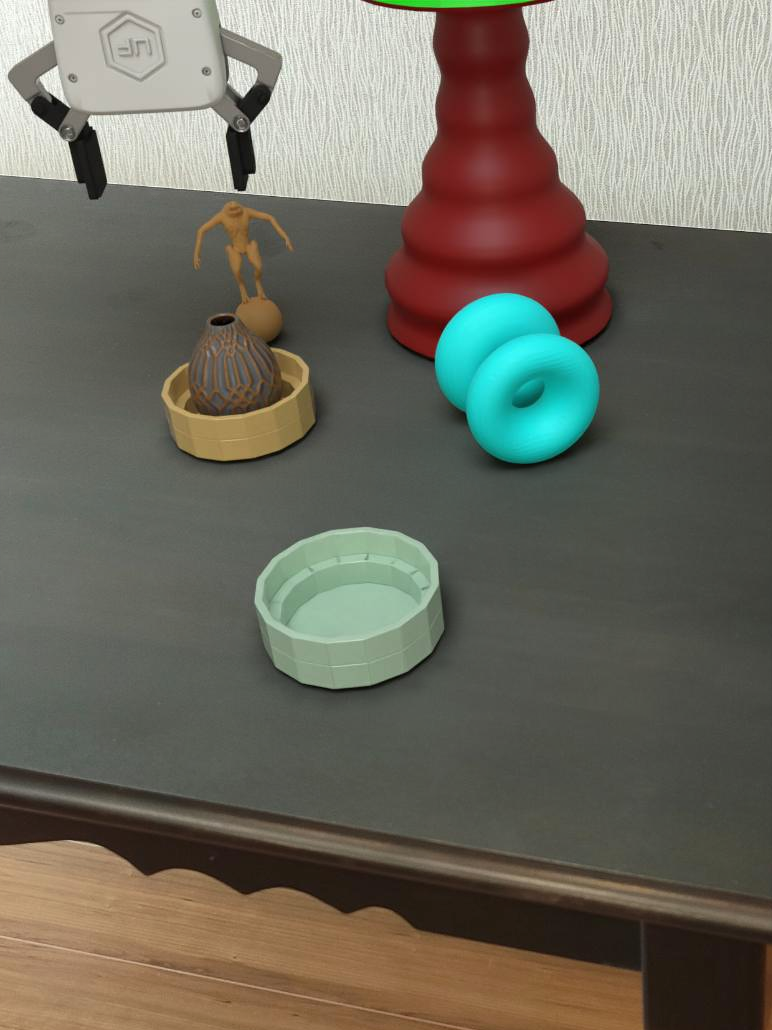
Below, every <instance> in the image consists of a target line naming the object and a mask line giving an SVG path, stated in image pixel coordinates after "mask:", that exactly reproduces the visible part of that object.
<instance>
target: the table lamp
mask: <svg viewBox="0 0 772 1030" xmlns="http://www.w3.org/2000/svg"><path fill="white" fill-rule="evenodd" d="M360 1H362V2H364V3H367V4H370V5H373V6H377V7H381V8H387V9H392V10H400V11H410V12H419V13H423V12H424V13H434V14H435V21H434V27H433V34H432V50H433V55H434V59H435V60H436V63H437V66H438V69H439V73H440V80H439V86H438V89H437V94H436V97H435V103H434V112H435V120H436V121H435V122H436V128H437V129H436V134H435V137H434V140H433V142H432V143H431V145H430V146H429V148H428V150H427V152H426V153H425V156H424V157H423V160H422V163H421V182H422V184H421V188H420V190H419V192H418V193H417V194H416V195H415V196H414V198H412V200H411V201H410V203H409V204H408V205H407V207H406V209H405V211H404V213H403V215H402V217H401V219H400V222H401V223H400V234H401V237H402V238H401V239H402V242H403V243H402V244H401V245H400V246H399V247H398V248H397V250H395V252H394V253H393V254H392V255H391V257H390V258H389V261H388V263H387V265H386V267H385V269H384V276H383V277H384V280H383V281H384V286H385V289H386V291H387V293H388V296H389V298H390V299H391V301H390V304H389V306H388V309H387V311H386V313H387V314H386V324H387V327H388V329H389V333H390V334H391V335H392V336H393V337H394V338H395V339H396V340H397V341H398V342H399V343H400V344H401V345H403V346H405V347H407V349H410V350H411V351H413V352H415V353H417V354H419V355H421V356H424V357H427V358H429V359H431V360H434V361H435V354H436V349H437V345H438V342H439V339H440V337H441V335H442V333H443V331H444V329H445V328H446V326H447V325H448V323H449V322H450V321H451V319H452V318H453V317H454V316H455V315H456V314H457V313H458V312H459V311H460V310H461V309H463V308H464V307H465V306H467V305H468V304H470V303H472V302H474V301H476V300H478V299H480V298H482V297H486V296H489V295H493V294H500V293H512V294H518V295H522V296H525V297H528V298H530V299H532V300H534V301H536V302H538V303H539V304H540V305H542V306H543V307H544V308H545V309H546V310H547V311H548V312H549V313H550V314H551V316H552V317H553V319H554V320H555V322H556V324H557V327H558V329H559V332H560V336H562V337H565V338H567V339H569V340H571V341H573V342H574V343H576V344H577V345H579V346H580V347H581V346H582V345H584V344H585V343H587V342H588V341H590V340H592V339H593V338H594V337H596V336H597V335H598V334H599V333H600V332H601V331H602V330H604V329H605V327H606V326H607V324H608V322H609V320H610V319H611V317H612V312H613V302H612V297H611V295H610V292H609V290H608V289H607V288H606V284H607V282H608V279H609V274H610V261H609V257H608V254H607V253H606V251H605V250H604V248H603V247H602V245H601V244H600V243H599V242H598V241H597V240H596V239H595V238H594V237H593V236H592V235H591V234H589V233H588V232H587V231H586V228H587V227H586V226H587V215H586V211H585V207H584V204H583V203H582V202H581V200H580V199H579V197H578V196H577V195H576V194H575V192H573V191H572V190H571V189H570V188H569V187H568V186H567V185H566V184H564V183H563V182H562V181H561V178H560V174H559V173H560V171H559V163H558V158H557V154H556V152H555V151H554V149H553V147H552V146H551V144H550V143H549V142H548V141H547V139H546V138H545V137H544V136H543V134H542V133H541V131H540V129H539V128H538V125H537V101H536V97H535V94H534V91H533V88H532V86H531V83H530V82H529V81H530V80H529V79H528V76H527V60H528V55H529V50H530V43H531V40H530V35H529V29H528V26H527V23H526V20H525V18H524V12H523V8H525V7H530V6H536V5H540V4H546V3H551V2H555V1H556V0H360Z"/></svg>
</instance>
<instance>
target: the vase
mask: <svg viewBox="0 0 772 1030" xmlns="http://www.w3.org/2000/svg"><path fill="white" fill-rule="evenodd" d="M270 348H271V347H270V346H269V345H268V342H267V343H266V342H265V341H264V340H263V339H262V338H260V337H259V336H258V335H257V334H255V333H254V332H253V331H252V330H250V329H249V328H248V327H246V326H245V325H244V324H243V322H242V321H241V320H240V318H239V317H238V316H237V315H236V314H235V313H233V312H220V313H216V314H213V315H212V316H210V317H208V318H207V320H206V321H205V325H204V329H203V332H202V334H201V335H200V338H199V339H198V341H197V343H196V344H195V346H194V348H193V350H192V352H191V355H190V357H189V361H188V362H189V366H188V385H189V390H190V393H191V397H192V400H193V402H194V405H195V406H196V408H197V410H198V412H199V413H200V415H208V416H228V415H239V414H246V413H249V412H253V411H256V410H259V409H263V408H266V407H270V406H272V405H273V404H275V403H277V402H279V401H281V397H282V377H281V372H280V367H279V365H278V362H277V360H276V357H275V356H274V354H273V352H272V350H271V349H270Z"/></svg>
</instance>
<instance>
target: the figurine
mask: <svg viewBox="0 0 772 1030" xmlns="http://www.w3.org/2000/svg"><path fill="white" fill-rule="evenodd" d="M251 219H254V220H261V221H267V222H270V224H271V226H272V227H273V228H274V229H275V231H276V232H277V233H278V235H279V236H280V237H281V238H282V239H284V240H285V246H286V247H288V249H289V252H293V251H294V248H293V244H292V242H291V239H290V238H289V236H288V235H287V233H286V232H285V230H284V229H282V227H281V226H280V224H279V223H278V222H277V220H276V218H275V217H274V216H273V215H271V214H269V213H265V212H262V211H258V210H255V209H253V208H251V207H245V206H242V205H241V204H240V203H239V202H237V201H235V200H231V201H230V202H227V203H226V204H224V206H222V209H221V210H220V212H217V213H216V214H214V216H213V217H212V218H211V219H209V220H208V221H207V222H205V223H204V224H202V225H201V226H200V227H199V228H198V230H197V235H196V236H197V237H196V243H195V247H194V255H193V265H194V269H195V270H200V269H201V267H200V263H201V264H202V261H201V259H200V258H199V256H200V253H201V250H202V247H203V240H204V234H205V233H207V232H208V231H210V230H212V229H213V228H215V227H217V226H218V225H222V226H223V227H222V228H224V230H225V232H226V233H227V235H228V237H229V239H230V241H231V243H232V245H231V244H227V245H226V246H225V248H224V251H225V253H226V255H227V257H228V261H229V262H228V263H229V267H230V269H231V271H232V272H233V274H234V280H235V282H236V283H238V284H237V285H238V288H239V293H240V297H241V303H239V305H238V307H237V308H236V310H235V313H234V314H236V315H237V316H238V317H239V318H240V320H241V321H242V322H243V324H244V325H245V326H246V327H248V328H249V329H250V330H252V331H253V332H254V333H255V334H257V335H258V336H259V337H260V338H262V339H263V340H264V341H265V342H266V343H267V344H268V343H270V342H271V341H273V340H274V339H275V338H276V337H277V336H279V334H280V332H281V330H282V326H283V316H282V312H281V311H280V309H279V307H278V305H276V304H275V302H273V301H272V300H270V299H268V297H267V295H265V293H264V289H263V286H262V282H261V278H262V277H263V273H262V270H263V263H262V258H261V254H260V253H259V244H258V242H257V241H256V240H255V239H252V240H251V241H250V242H249V237H248V236H249V229H250V220H251ZM245 254H246V257H247V262H248V263H249V264H250V265H252V267H254V269H255V271H254V272H253V277H254V283H255V288H256V289H255V290H256V294H257V296H252V297H249V295H248V291H247V290H246V286H245V283H244V276H243V275H242V274H241V272H242V269H241V268H242V266H243V258H242V256H241V255H245Z"/></svg>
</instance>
